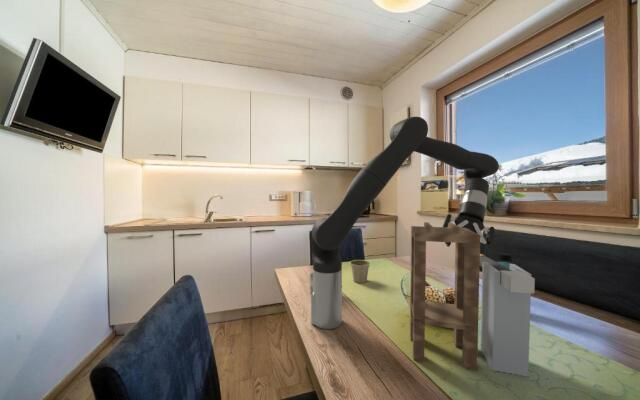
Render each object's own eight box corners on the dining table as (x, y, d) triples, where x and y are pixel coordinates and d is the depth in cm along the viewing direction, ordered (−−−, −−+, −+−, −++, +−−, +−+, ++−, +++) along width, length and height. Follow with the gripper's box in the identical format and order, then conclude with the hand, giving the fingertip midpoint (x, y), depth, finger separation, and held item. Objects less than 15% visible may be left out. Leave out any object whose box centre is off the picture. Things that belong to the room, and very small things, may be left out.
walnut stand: (413, 360, 62) (415, 227, 61) (409, 335, 73) (411, 221, 71) (477, 370, 58) (480, 229, 57) (463, 343, 69) (466, 223, 67)
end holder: (492, 370, 58) (495, 271, 57) (480, 349, 66) (482, 261, 65) (528, 376, 56) (531, 274, 55) (511, 354, 64) (514, 264, 63)
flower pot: (346, 279, 118) (346, 261, 118) (362, 276, 122) (362, 258, 122) (357, 286, 110) (357, 266, 110) (374, 282, 114) (374, 264, 114)
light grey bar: (510, 292, 53) (511, 277, 53) (471, 264, 73) (472, 253, 73) (534, 293, 52) (534, 278, 52) (488, 265, 72) (488, 254, 72)
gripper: (452, 195, 82) (441, 238, 76) (502, 208, 77) (494, 255, 71) (446, 205, 89) (435, 246, 82) (491, 218, 84) (484, 262, 78)
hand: (463, 250), depth 77 cm, fingers open, 8 cm apart
